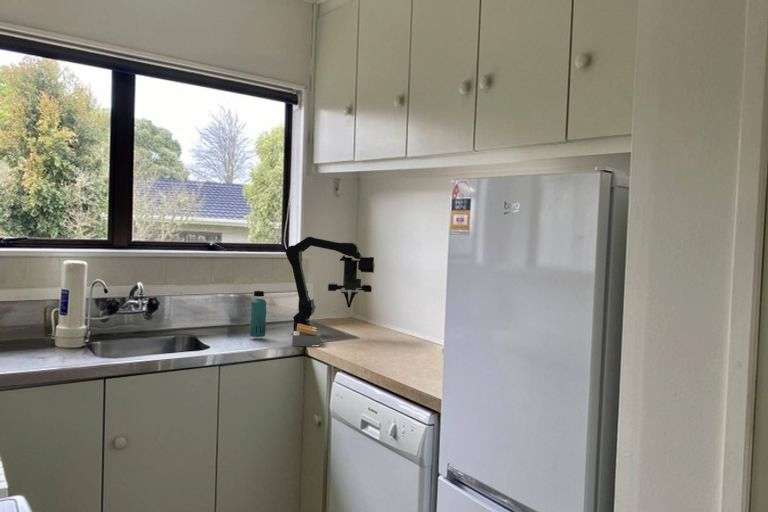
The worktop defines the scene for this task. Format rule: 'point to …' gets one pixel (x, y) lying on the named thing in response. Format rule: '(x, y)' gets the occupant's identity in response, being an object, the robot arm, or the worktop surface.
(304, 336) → the grey square bin
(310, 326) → the rocker far
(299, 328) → the rocker near
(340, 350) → the worktop surface
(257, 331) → the beverage bottle
